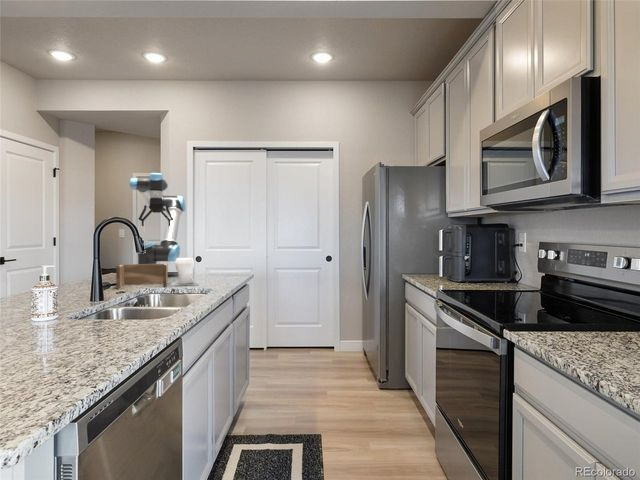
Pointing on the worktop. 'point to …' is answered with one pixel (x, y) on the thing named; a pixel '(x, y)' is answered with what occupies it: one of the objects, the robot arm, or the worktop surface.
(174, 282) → the mat
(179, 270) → the cup
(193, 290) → the worktop surface
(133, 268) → the crate
